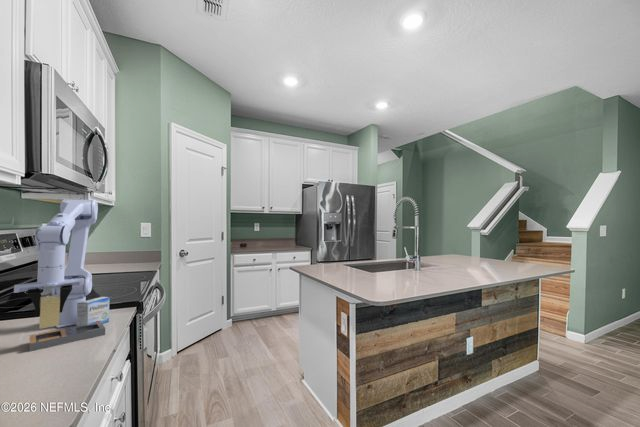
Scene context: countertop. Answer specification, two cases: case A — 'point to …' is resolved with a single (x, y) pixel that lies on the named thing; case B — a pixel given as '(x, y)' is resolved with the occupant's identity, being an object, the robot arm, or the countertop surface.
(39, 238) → the robot arm
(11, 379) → the countertop surface
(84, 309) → the medicine box
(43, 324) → the peg
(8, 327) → the countertop surface
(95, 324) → the rail
